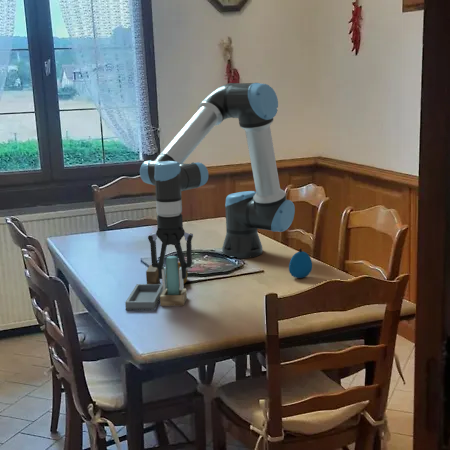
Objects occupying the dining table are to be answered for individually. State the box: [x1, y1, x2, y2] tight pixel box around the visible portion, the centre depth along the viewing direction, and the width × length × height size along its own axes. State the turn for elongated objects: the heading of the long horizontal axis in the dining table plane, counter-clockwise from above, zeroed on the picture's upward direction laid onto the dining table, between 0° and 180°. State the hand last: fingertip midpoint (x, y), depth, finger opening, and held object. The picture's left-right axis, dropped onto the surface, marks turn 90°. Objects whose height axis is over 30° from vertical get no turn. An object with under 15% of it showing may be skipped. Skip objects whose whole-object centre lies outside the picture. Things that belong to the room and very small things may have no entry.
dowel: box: [165, 255, 180, 295], centre depth 210 cm, size 4×4×14 cm
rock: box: [166, 261, 188, 288], centre depth 228 cm, size 11×8×10 cm
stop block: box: [145, 264, 161, 284], centre depth 227 cm, size 3×7×6 cm, turn 175°
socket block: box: [159, 288, 188, 307], centre depth 212 cm, size 7×7×3 cm
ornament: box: [288, 248, 313, 279], centre depth 230 cm, size 8×5×10 cm, turn 111°
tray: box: [124, 283, 163, 311], centre depth 213 cm, size 9×17×2 cm, turn 175°
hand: (173, 288), depth 211 cm, fingers open, 4 cm apart
